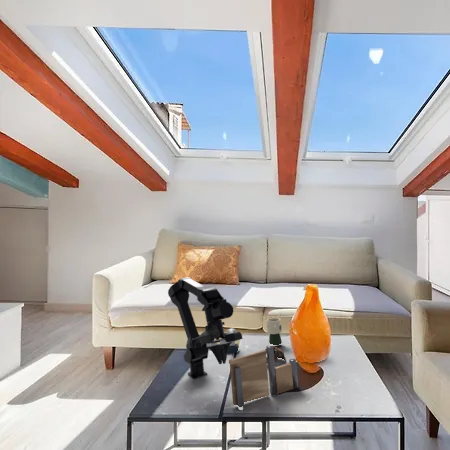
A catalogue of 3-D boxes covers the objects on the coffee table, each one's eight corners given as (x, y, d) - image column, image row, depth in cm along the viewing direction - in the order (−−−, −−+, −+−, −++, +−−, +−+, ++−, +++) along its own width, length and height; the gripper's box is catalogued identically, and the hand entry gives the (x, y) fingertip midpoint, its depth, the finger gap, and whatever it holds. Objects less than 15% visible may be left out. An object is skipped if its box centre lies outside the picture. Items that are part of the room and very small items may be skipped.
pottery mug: (291, 366, 161) (282, 352, 159) (271, 377, 161) (262, 363, 159) (282, 350, 173) (273, 336, 170) (264, 361, 173) (255, 347, 170)
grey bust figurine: (239, 348, 188) (237, 326, 188) (238, 354, 180) (236, 330, 180) (227, 349, 188) (225, 327, 188) (226, 355, 180) (224, 331, 180)
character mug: (284, 349, 181) (282, 321, 181) (269, 350, 181) (267, 323, 181) (281, 341, 192) (279, 316, 192) (267, 343, 192) (265, 317, 192)
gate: (232, 406, 128) (228, 359, 128) (267, 393, 135) (263, 349, 135) (235, 408, 126) (231, 361, 126) (270, 395, 134) (266, 350, 134)
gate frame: (233, 406, 129) (229, 356, 129) (295, 385, 141) (291, 339, 141) (240, 411, 125) (235, 359, 125) (303, 389, 137) (299, 342, 137)
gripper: (182, 328, 143) (189, 371, 140) (221, 319, 134) (230, 365, 130) (200, 324, 153) (208, 365, 149) (238, 315, 143) (247, 359, 139)
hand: (222, 363), depth 141 cm, fingers closed
